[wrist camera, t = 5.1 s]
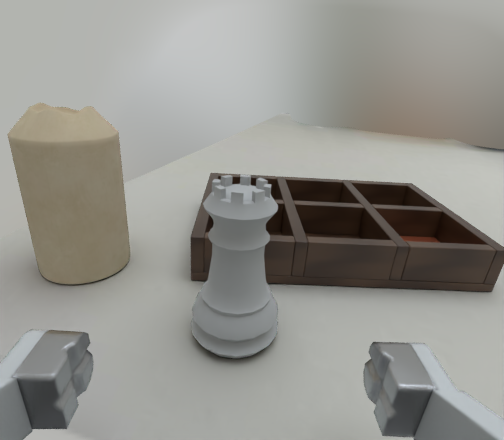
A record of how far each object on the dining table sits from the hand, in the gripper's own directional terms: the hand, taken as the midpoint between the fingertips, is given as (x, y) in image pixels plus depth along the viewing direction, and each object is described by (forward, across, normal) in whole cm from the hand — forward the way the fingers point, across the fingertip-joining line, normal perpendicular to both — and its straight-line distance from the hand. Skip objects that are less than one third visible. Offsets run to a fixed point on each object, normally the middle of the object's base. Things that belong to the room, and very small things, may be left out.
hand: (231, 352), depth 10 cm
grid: (+17, -7, +5) cm, 19 cm away
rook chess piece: (+6, 0, +5) cm, 8 cm away
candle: (+12, +10, +5) cm, 17 cm away
